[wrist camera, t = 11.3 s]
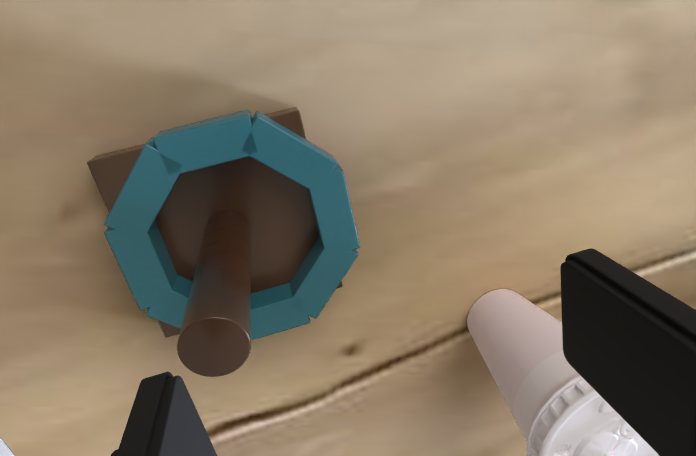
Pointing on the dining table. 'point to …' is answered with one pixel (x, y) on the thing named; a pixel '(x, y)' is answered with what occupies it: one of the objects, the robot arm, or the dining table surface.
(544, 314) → the smoothie
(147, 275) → the ring
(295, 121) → the brown peg stand
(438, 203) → the dining table surface
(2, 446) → the white milk carton
